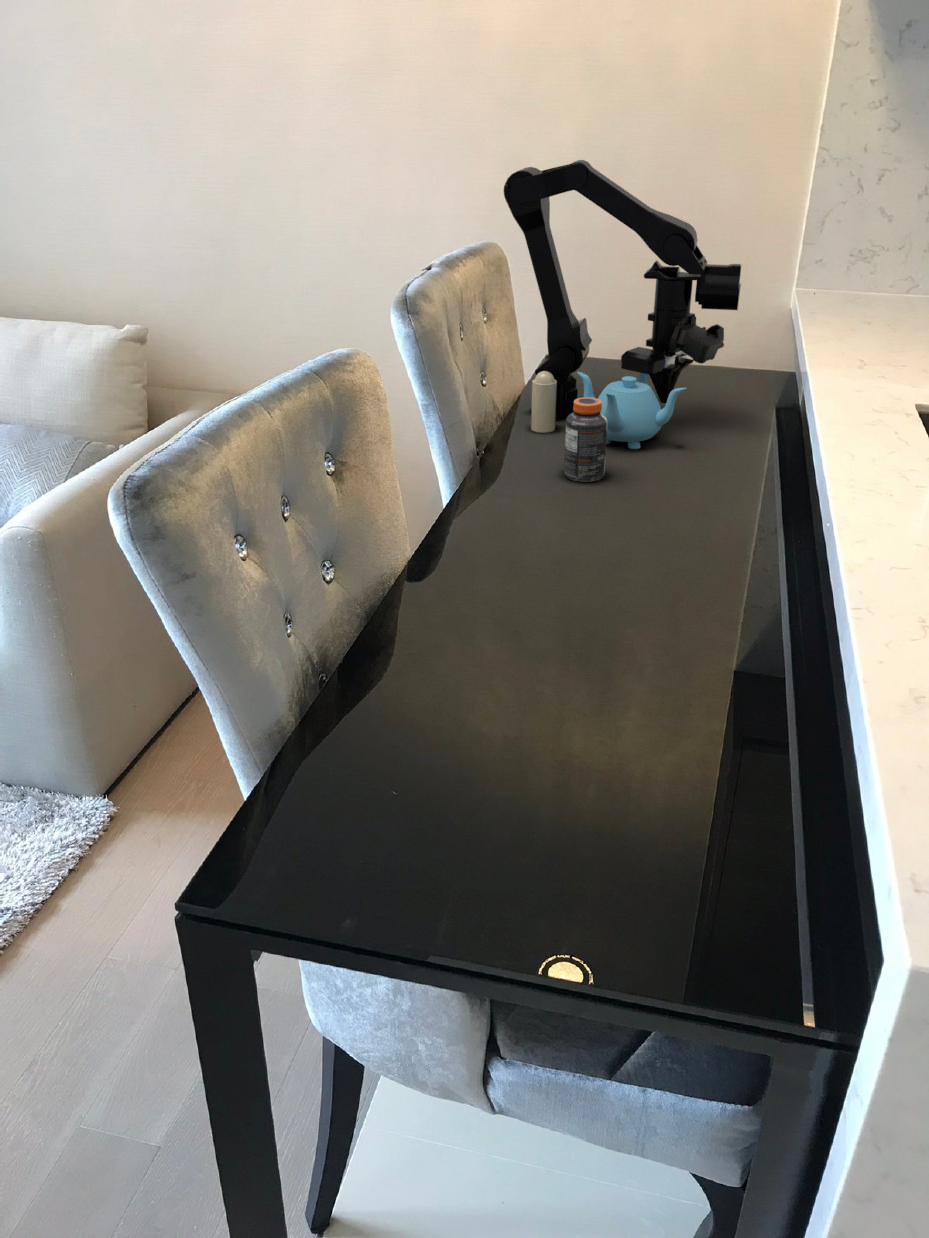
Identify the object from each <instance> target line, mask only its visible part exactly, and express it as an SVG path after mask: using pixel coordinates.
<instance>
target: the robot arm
mask: <svg viewBox="0 0 929 1238" xmlns="http://www.w3.org/2000/svg"><path fill="white" fill-rule="evenodd" d="M572 191H574V192H577V193H579V194H580V195H581V196H583V197H585V199H587V200H589V201H590V202H591V203H593V204H595V205H596V206H597V207H599V208H600V209H602V210H603V211H604V212H606V213H608V214H609V215H610V216H612V217H613V218H614V219H616V220H618V221H619V222H620V223H622V224H623V225H625V226H626V227H627V228H629V229H630V230H632V231H633V232H635V233H636V234H637V235H638V236H639V237H640V239H641V240H642V241H643V242H644V243H645V245H646V246H647V248H648V249H650V251H651V252H653V254H655V256H657V258H658V259H660V261H661V262H663V263H664V264H665V265H668V266H663V265H662V264H661V263H660V262H659V260H655V261H654V262H653V264H652V265H651V266H650V267H649V268H648V269H646V271H645V273H644V274H643V278H644V279H646V280H655V292H654V303H653V312H649V313H648V314H647V321H648V322H652V328H651V329H652V330H651V337H650V338H647V339H646V340H645V347H642V346H636V347H634V348H631V349H629V350H626V351H625V352H623V354H622V355H621V356H620V368H621V369H622V370H625V371H631V372H635V373H639V374H640V373H644V374H647V375H648V376H649V378H650V380H651V382H652V385H653V387H654V390H655V392H656V396H657V398H658V401H659V403H660V404H665V405H666V403H667V399H668V396H669V394H670V392H671V391H672V390H674V389H675V386H676V384H677V381H678V379H679V377H680V375H681V372H682V371H683V370H684V369H686V368H687V367H688V366H690V365H691V364H693V363H694V362H695V363H698V364H705V363H706V362H708V361H710V360H711V361H712V360H714V359H715V357H716V356H717V353H718V350H719V349H720V350H721V349H722V348H723V347H725V343H724V340H725V328H724V327H723V326H721V325H720V324H718V323H717V324H713V325H711V326H709V327H708V328H707V327H705V326H703V327H700V326H699V325H697V316H696V313H692V312H691V303H692V294H693V285H694V284H693V282H694V281H696V285H695V294H694V302H695V303H697V304H698V305H700V306H701V310H722V311H738V310H739V304H740V303H739V302H740V294H741V287H742V283H740V282H741V275H742V274H741V273H742V264H741V263H731V264H708V261H707V259H706V256H705V255H704V254H703V253H702V250H701V249H700V247H699V246H698V234H697V231H696V228H695V227H694V226H693V225H691V224H690V223H689V222H687V221H684V220H682V219H680V218H678V217H675V216H673V215H671V214H668V213H665V212H661V211H659V210H657V209H655V208H652V207H650V206H649V205H647V204H646V203H645V202H643V201H642V200H640V199H639V198H637V197H636V196H634V195H633V194H632V193H630V192H629V191H627V190H626V189H624V188H623V187H622V186H621V185H619V184H617V183H616V182H615V181H613V180H612V179H610V178H609V177H607V176H606V175H604V174H603V173H601V172H600V171H599V170H597V169H596V168H594V167H593V165H591V163H590V162H589V161H588V160H587V161H586V160H585V159H577V160H575V161H573V162H570V163H568V164H564V165H563V164H562V165H559V166H556V167H549V168H546V169H544V170H540V169H539V168H537V167H533V166H527V167H524V168H521V169H519V170H517V171H515V172H513V173H511V174H510V175H509V176H508V177H507V179H506V181H505V183H504V185H503V196H504V199H505V202H506V204H507V207H508V208H509V210H510V213H511V215H512V217H513V219H514V220H515V222H516V224H517V225H518V227H519V228H520V230H521V232H522V233H523V236H524V239H525V243H526V246H527V250H528V254H529V257H530V260H531V265H532V268H533V273H534V276H535V280H536V283H537V287H538V290H539V296H540V298H541V302H542V305H543V310H544V312H545V317H546V323H547V324H546V325H547V326H546V327H547V328H546V343H547V356H546V357H544V358H543V360H542V361H541V363H540V364H539V366H537V368H536V369H535V371H534V373H535V376H536V375H537V374H538V373H540V372H542V371H548V372H550V373H551V374H552V375H553V377H554V379H555V380H556V381H557V394H556V420H562V419H564V418H567V417H568V416H569V415H570V414H571V413H573V412H574V411H573V406H574V400H575V399H578V391H579V389H578V387H577V377H575V376H573V375H572V374H573V373H575V372H577V370H580V368H581V366H582V365H583V363H584V362H585V360H586V359H587V357H588V355H589V353H590V345H591V343H592V342H593V339H592V338H591V336H590V334H589V332H588V331H589V330H588V322H587V318H586V317H583V318H581V319H578V318H577V316H576V315H575V314H574V312H573V310H572V307H571V306H572V305H571V303H570V299H569V295H568V291H567V287H566V283H565V279H564V275H563V271H562V268H561V264H560V260H559V256H558V251H557V249H556V244H555V240H554V236H553V233H552V229H551V224H550V218H551V217H550V216H551V215H550V213H551V211H550V210H551V205H550V204H551V203H550V202H551V201H550V200H551V199H550V197H553V196H557V195H560V194H564V193H568V192H572ZM681 269H682V270H683V271H681ZM647 347H649V348H647ZM651 348H652V349H651ZM688 357H690V358H688ZM529 412H530V413H531V408H530V409H529Z"/></svg>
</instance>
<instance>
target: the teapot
mask: <svg viewBox="0 0 929 1238" xmlns="http://www.w3.org/2000/svg"><path fill="white" fill-rule="evenodd" d="M576 373H577V374H578V376H579V377H580V379H581V380H582V382H583V398H584V397H591V398H596V396H595V394H594V390H593V383H592V380H591V378H590V377H589V375H587V374H585V373H584V372H581V371H576ZM687 388H688V387H677V388H674V389H673V390H672V391H671V392H670V394H669V396H668V399H667V403H666V404H665V406H664V407H663V408H661V403H660V401H659V399H658V397H657V395H656V394H655V392H654V390H653V389H652V387H651V386H650V385H649V384H648V374H644V373H640V372H639V375H638V377H635V376H631V375H630V376H629V375H625V376H622V377H621V380H617V381H613V382H610V383H608V384H607V385H606V386H605V388H604V389H603V390H602V391H601V392H600V394H599V396H598V397H597V399H599V400H601V401H602V410H601V413H602V414H603V415H604V416H605V417H606V418H607V438H606V445H608V444H609V445H610V444H611V443H612V441H613V442H622V443H627V448H629V449H632V450H638V449H641V442H644V441H647V440H650V439H651V438H653V437H655V435H657V434H658V433H659V431H660V430H661V429H662V427H663V426H664V425H665V424H667V423H668V422H669V421H670V419H671V418H672V416H673V414H674V410H675V405H676V401H677V398H678V396H679V395H680V394H681V393H682V392H683V391H685V390H687Z"/></svg>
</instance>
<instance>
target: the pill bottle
mask: <svg viewBox="0 0 929 1238" xmlns="http://www.w3.org/2000/svg"><path fill="white" fill-rule="evenodd" d="M601 410H602V401H601V400H599V399H598V397H597V398H596V397H595V398H591V397H584V396H583V397H577V399H575V400H574V406H573V411H574V412H573V413H571V414H570V415H569V416H567V417H566V419H565V435H564V437H565V439H564V463H563V464H564V465H563V474H564V476H565V477H566V478H567V479H569V480H571V481H576V482H582V483H584V482H585V483H586V482H588V483H589V482H595V481H599V480H601V479H603V478H604V476H605V470H606V456H607V455H606V454H607V452H606V451H607V444H606V438H607V418H606V417H605V416H604V415H603V414H602V413H601Z"/></svg>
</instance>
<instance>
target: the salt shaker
mask: <svg viewBox="0 0 929 1238" xmlns="http://www.w3.org/2000/svg"><path fill="white" fill-rule="evenodd" d="M556 394H557V381H556V380H555V379H554V377H553V375H552V374H551V373H550V372H548V371H542V372H540V373H538V374H537V375H536V374H535V378H534V379H532V380H531V407H530V409H531V412H530V413H531V415H530V430H531V431H533V432H535V433H543V434H544V433H545V434H546V433H551V432H554V431H555V430H556V420H557V419H556Z"/></svg>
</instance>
